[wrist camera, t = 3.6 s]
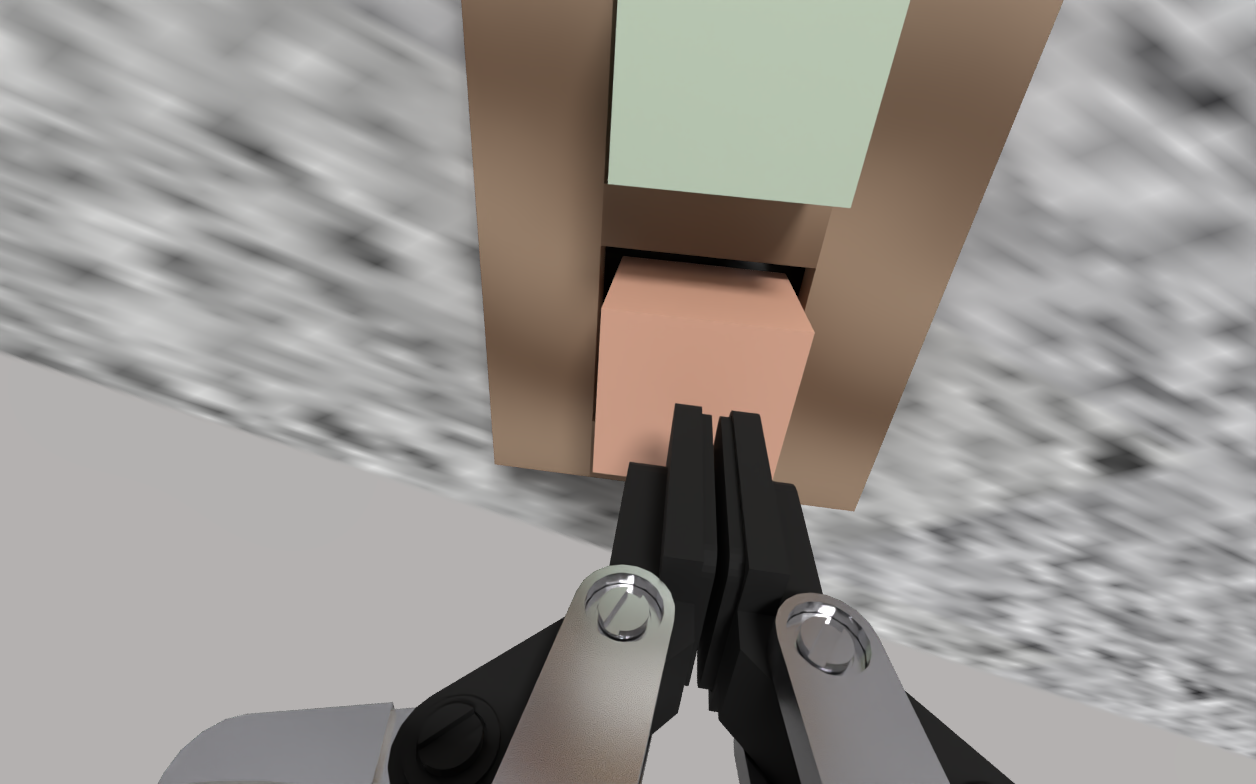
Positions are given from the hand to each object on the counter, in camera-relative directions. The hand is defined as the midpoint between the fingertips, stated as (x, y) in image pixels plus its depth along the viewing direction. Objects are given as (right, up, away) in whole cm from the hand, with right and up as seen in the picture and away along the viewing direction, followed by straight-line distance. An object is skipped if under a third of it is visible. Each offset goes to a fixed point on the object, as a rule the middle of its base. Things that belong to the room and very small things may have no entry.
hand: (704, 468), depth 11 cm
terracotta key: (0, +3, +5) cm, 6 cm away
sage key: (+1, +9, +1) cm, 9 cm away
